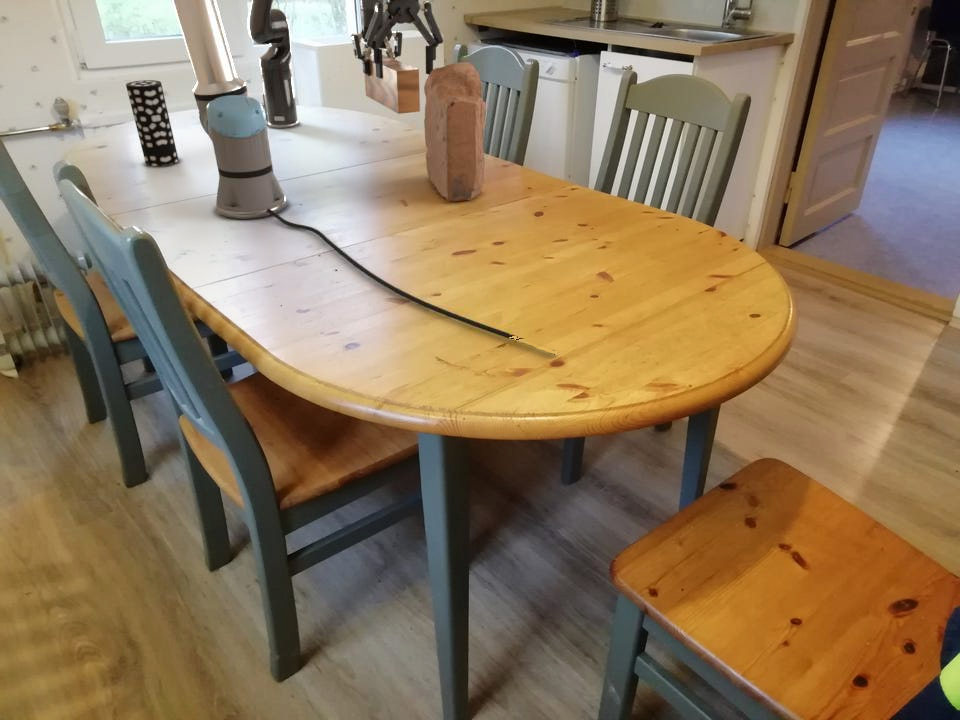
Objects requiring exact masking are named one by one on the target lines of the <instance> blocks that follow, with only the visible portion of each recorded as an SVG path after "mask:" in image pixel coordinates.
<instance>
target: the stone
mask: <svg viewBox="0 0 960 720" xmlns="http://www.w3.org/2000/svg"><path fill="white" fill-rule="evenodd" d="M423 90H424V95H425V105H424V106H425V107H424V119H423V122H424V123H423V124H424V125H423V127H424V139H425V140H424V141H425V147H426V150H427V151H426V152H425V162H426V163H425V164H426V172H427V176H428V179H429V180H430V182H431V183H432V184H433V186H434V187H435V188H436V189H437V191H438V193H439V194H440V195H441V196H442V197H444V198H445V199H446V200H447V201H448V202H459V201H467V200H468V201H471V200H473V199H474V198H476V196H478V195H480V194H481V193H482V188H483V185H484V183H485V164H486V162H485V154H484V140H485V139H484V138H485V135H484V134H485V124H486V116H487V102H486V101H484V100H483V98H482V92H483V91H482V82H481V78H480V73H479V71H478V70H476V68H475V66H474V65H473V64H472V63H471V62H467V61H462V62H455V63H450V64H446V65H445V66H442V67H436V68H433V70H432V71H431V73H430V75H428V77H427V78H426V79H425V82H424V86H423Z"/></svg>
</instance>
